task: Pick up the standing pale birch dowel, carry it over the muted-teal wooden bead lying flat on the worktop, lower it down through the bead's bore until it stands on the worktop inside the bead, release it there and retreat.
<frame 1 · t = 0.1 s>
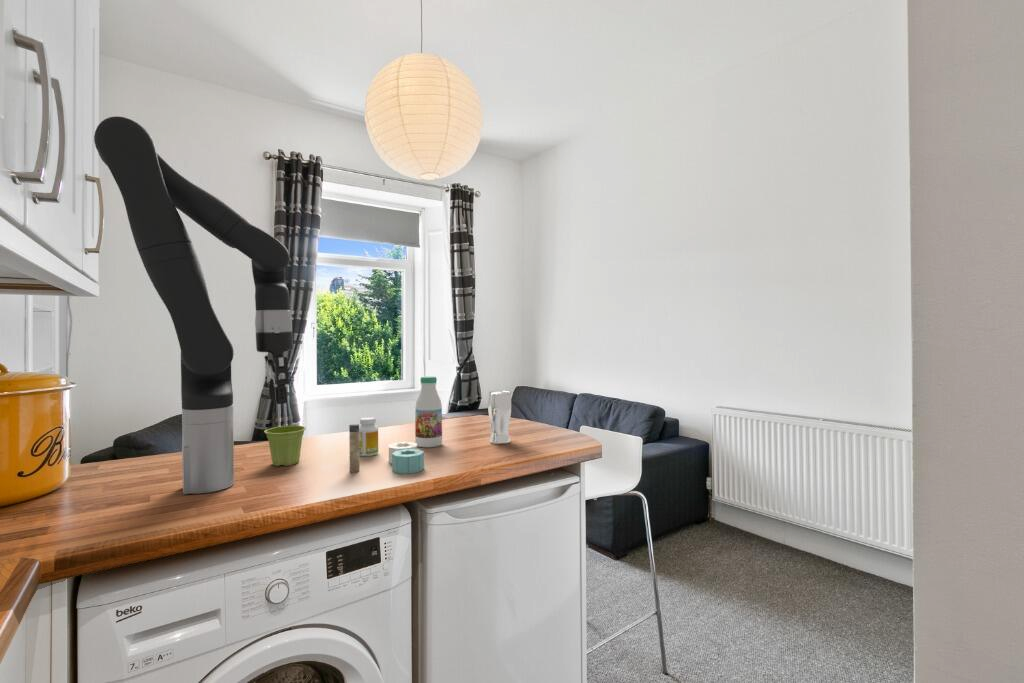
hand: (277, 401, 110), 17 cm above the counter, tool pointing down, fingers open, 8 cm apart
cream bead: (402, 460, 124), on the counter
milk bottle: (428, 445, 141), on the counter
supplement bottle: (368, 454, 131), on the counter
beer glass: (499, 442, 145), on the counter
needle dowel: (354, 471, 115), on the counter
plant pot: (285, 464, 121), on the counter
teal bead: (408, 469, 116), on the counter
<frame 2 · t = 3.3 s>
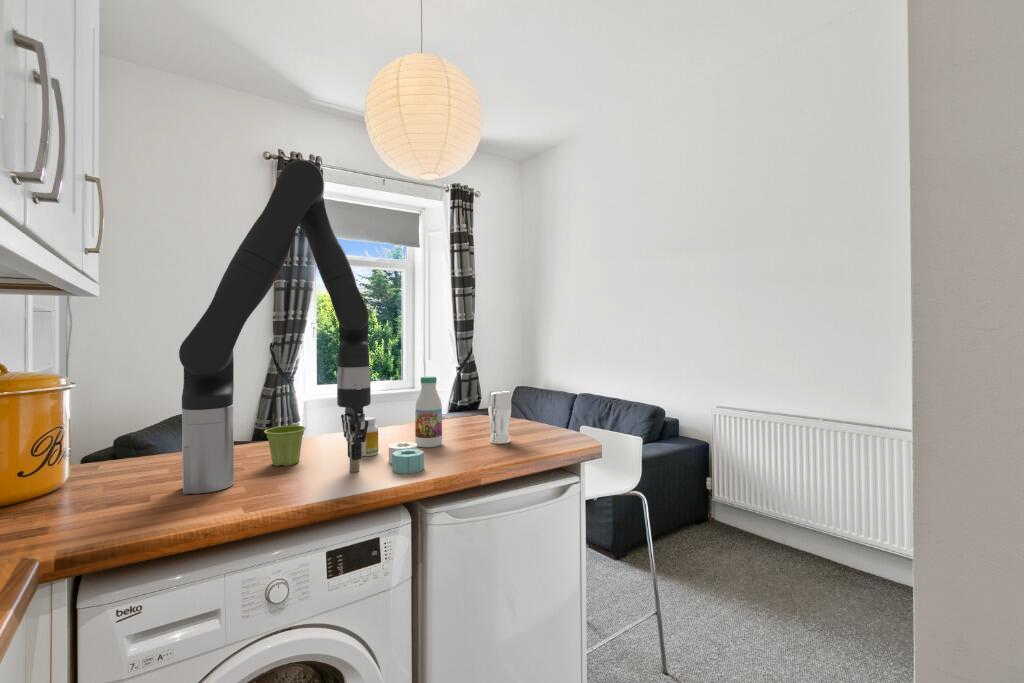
hand: (354, 458, 114), 3 cm above the counter, tool pointing down, fingers closed on needle dowel, 2 cm apart
needle dowel: (354, 470, 115), on the counter, touching gripper
everything else where it was.
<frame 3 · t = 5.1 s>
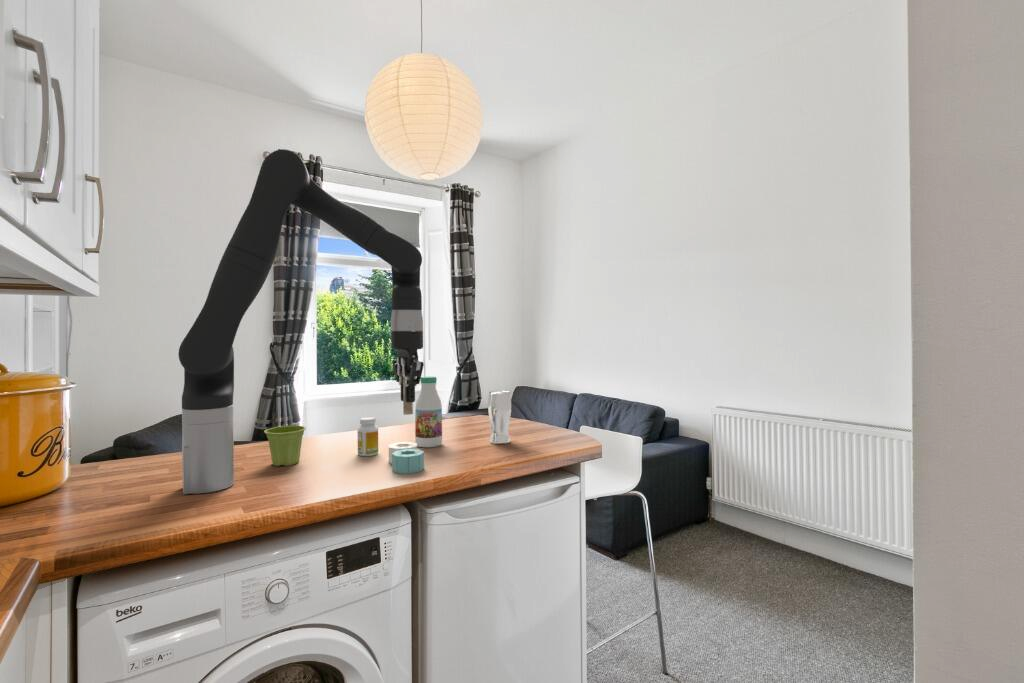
hand: (407, 401, 116), 16 cm above the counter, tool pointing down, fingers closed on needle dowel
needle dowel: (408, 413, 116), point 13 cm above the counter, touching gripper
everything else where it was.
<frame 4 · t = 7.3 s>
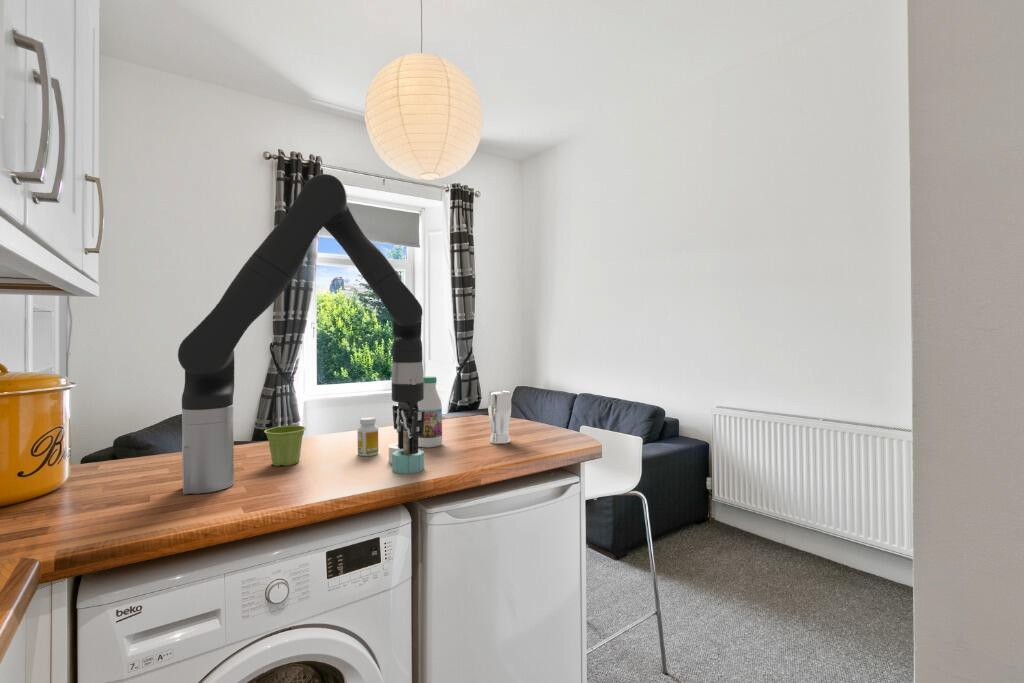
hand: (408, 450, 116), 5 cm above the counter, tool pointing down, fingers open, 5 cm apart
needle dowel: (408, 469, 116), resting in teal bead
everything else where it was.
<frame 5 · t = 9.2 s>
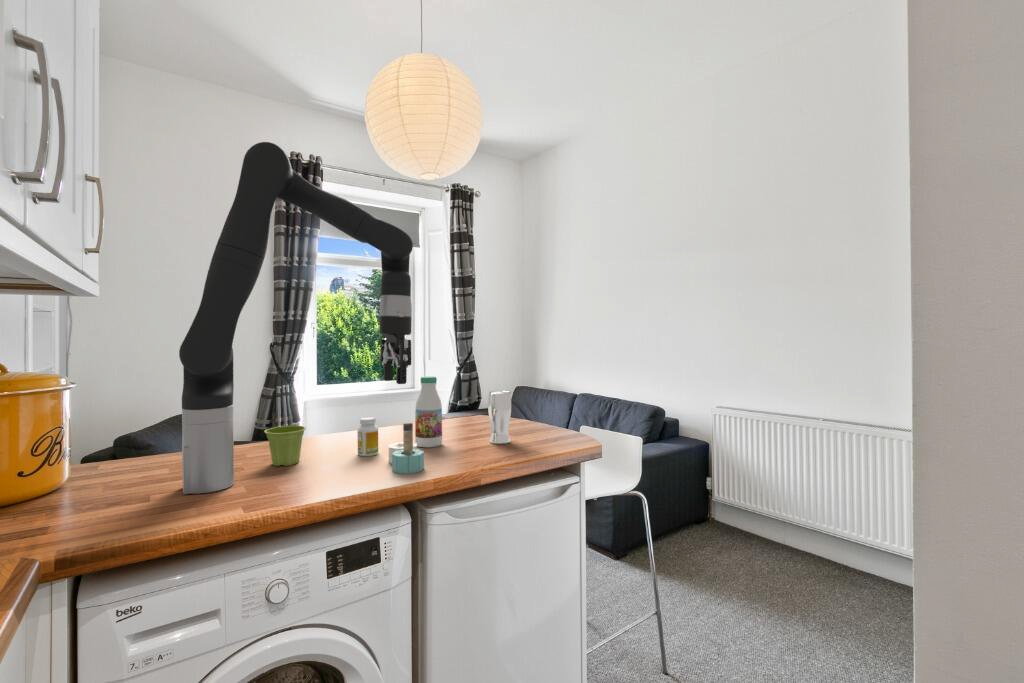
hand: (394, 382, 116), 21 cm above the counter, tool pointing down, fingers open, 8 cm apart
nothing on the counter moved.
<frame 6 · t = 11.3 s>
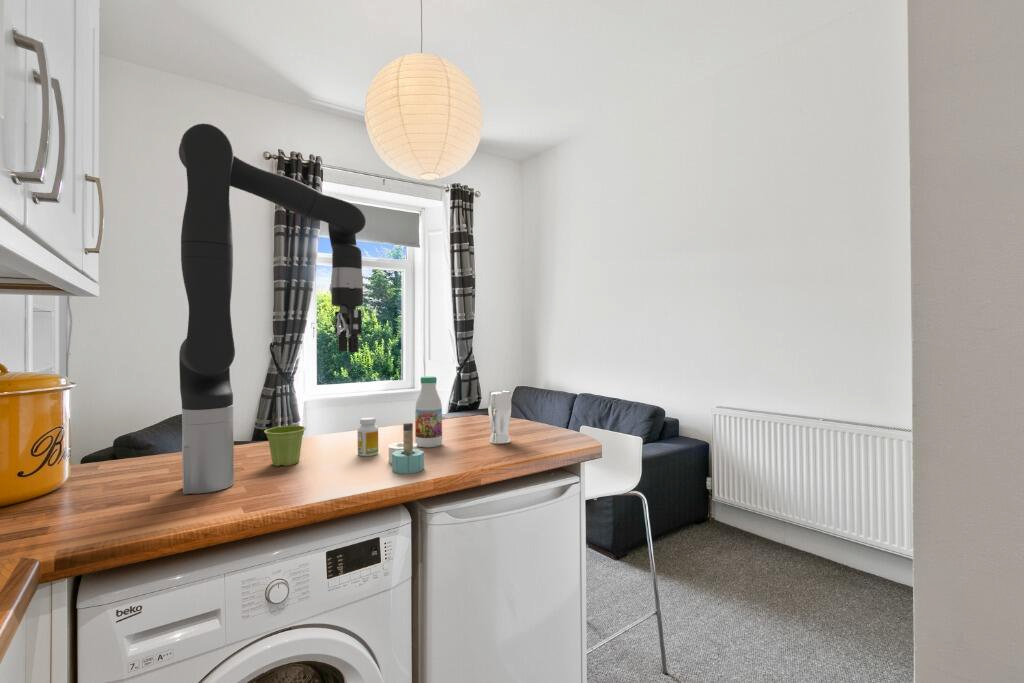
hand: (347, 351, 121), 28 cm above the counter, tool pointing down, fingers open, 8 cm apart
nothing on the counter moved.
at the end: needle dowel 0.1 cm from the teal bead (horizontally); needle dowel resting in teal bead; needle dowel tilted 0° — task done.
